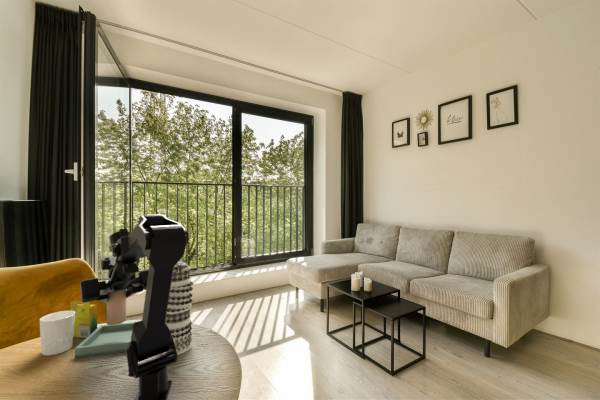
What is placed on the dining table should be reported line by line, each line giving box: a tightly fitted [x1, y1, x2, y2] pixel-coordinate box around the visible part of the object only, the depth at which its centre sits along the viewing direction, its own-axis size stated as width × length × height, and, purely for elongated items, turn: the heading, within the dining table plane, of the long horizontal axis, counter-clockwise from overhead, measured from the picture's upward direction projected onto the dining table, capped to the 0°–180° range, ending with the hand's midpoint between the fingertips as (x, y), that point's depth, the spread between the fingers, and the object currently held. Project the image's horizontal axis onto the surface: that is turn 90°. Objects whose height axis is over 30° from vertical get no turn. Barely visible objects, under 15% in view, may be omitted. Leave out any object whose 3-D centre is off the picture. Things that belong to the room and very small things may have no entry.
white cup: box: [39, 310, 75, 357], centre depth 80 cm, size 8×8×10 cm
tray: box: [74, 321, 136, 359], centre depth 85 cm, size 15×15×3 cm
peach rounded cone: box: [106, 281, 127, 325], centre depth 85 cm, size 5×5×12 cm
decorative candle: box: [161, 261, 194, 355], centre depth 81 cm, size 9×9×25 cm
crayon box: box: [70, 300, 98, 339], centre depth 89 cm, size 7×3×12 cm, turn 81°
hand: (115, 299), depth 86 cm, fingers closed on peach rounded cone, 5 cm apart
